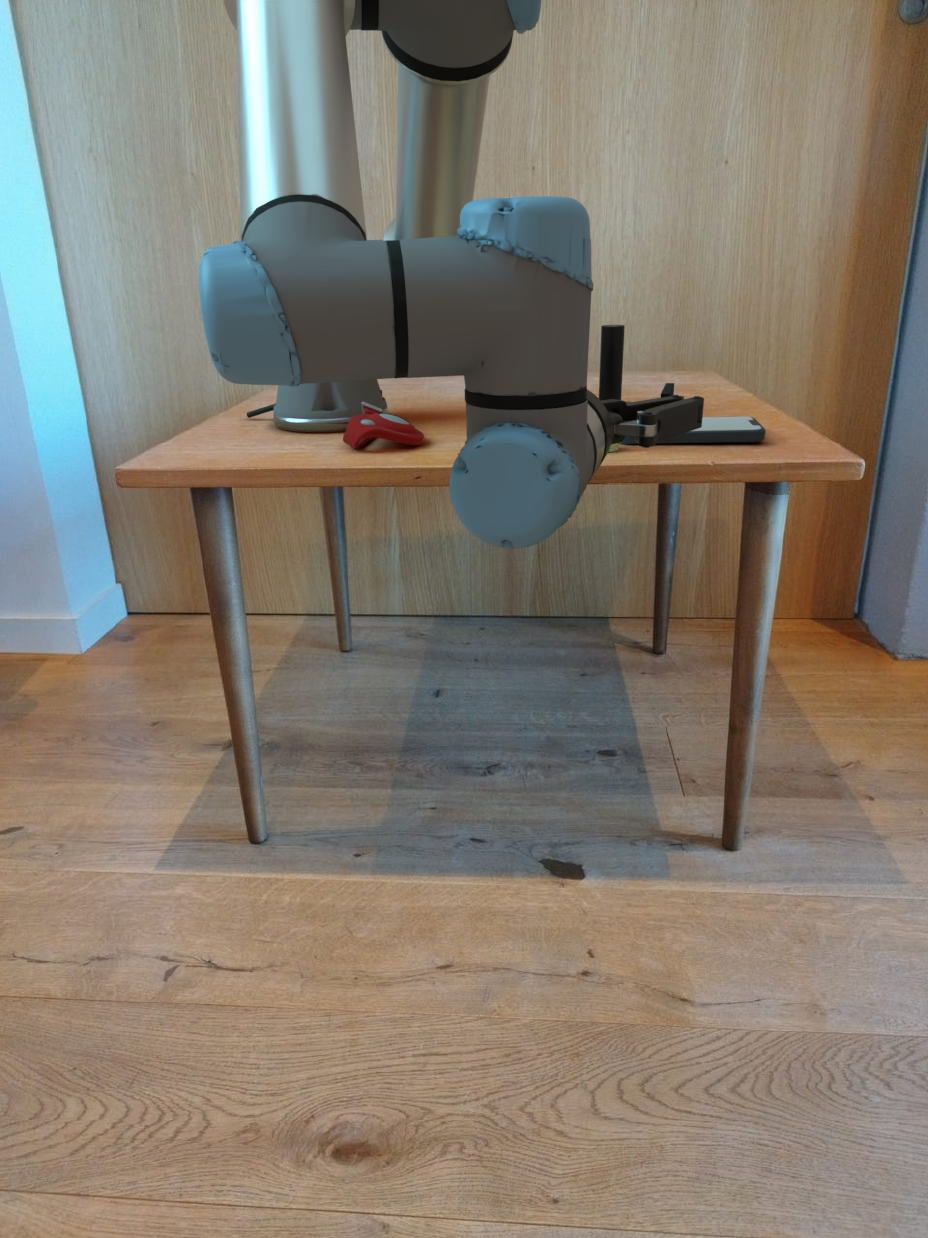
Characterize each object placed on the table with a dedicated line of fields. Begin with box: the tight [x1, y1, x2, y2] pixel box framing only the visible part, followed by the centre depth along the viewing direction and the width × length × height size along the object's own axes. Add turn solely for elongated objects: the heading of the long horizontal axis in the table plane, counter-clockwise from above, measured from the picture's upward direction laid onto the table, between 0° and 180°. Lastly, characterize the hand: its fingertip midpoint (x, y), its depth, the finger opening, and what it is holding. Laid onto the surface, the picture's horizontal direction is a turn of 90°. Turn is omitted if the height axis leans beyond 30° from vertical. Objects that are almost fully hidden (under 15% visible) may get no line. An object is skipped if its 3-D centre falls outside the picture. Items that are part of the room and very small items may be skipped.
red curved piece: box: [342, 402, 425, 450], centre depth 97 cm, size 12×4×10 cm
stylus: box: [598, 324, 626, 453], centre depth 88 cm, size 2×2×13 cm
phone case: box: [620, 416, 767, 445], centre depth 95 cm, size 9×2×16 cm
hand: (597, 396), depth 79 cm, fingers open, 13 cm apart
